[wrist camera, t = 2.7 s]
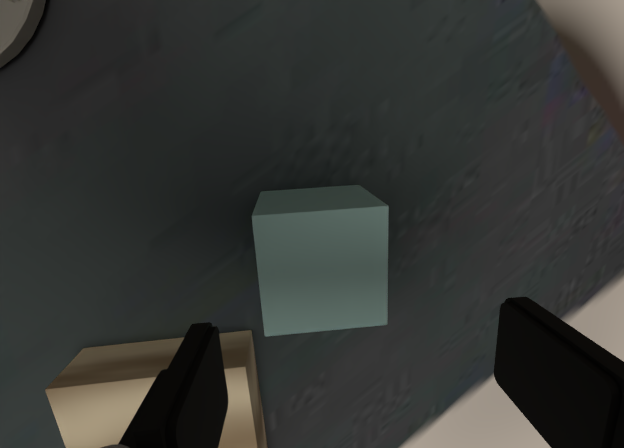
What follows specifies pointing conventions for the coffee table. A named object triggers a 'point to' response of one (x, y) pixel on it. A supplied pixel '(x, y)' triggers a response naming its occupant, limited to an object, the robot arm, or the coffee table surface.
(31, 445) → the coffee table surface
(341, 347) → the coffee table surface
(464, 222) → the coffee table surface
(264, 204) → the teal cube
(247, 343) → the birch block
